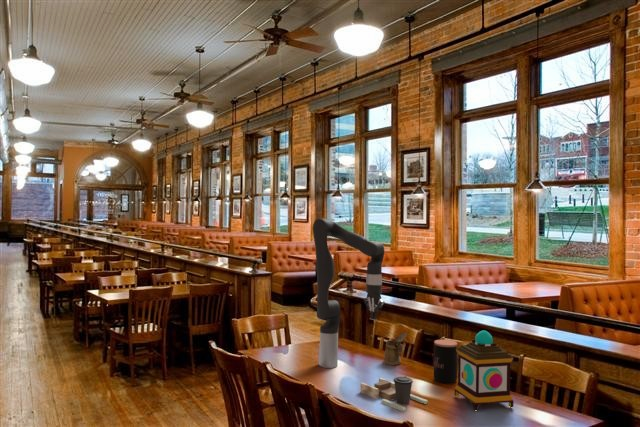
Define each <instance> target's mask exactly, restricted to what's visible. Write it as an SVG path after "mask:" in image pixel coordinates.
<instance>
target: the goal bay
mask: <svg viewBox="0 0 640 427" xmlns="http://www.w3.org/2000/svg"><path fill="white" fill-rule="evenodd" d="M410 400H413V401H416V402H419V403H421V404H423V403H424V404H423V405H427V403H429V401H428V399H425V398H423V397H420V396H417V395H414V394H412V393H411V394H410ZM381 403H382V404H384V405H386V406H389V407H391V408H392V409H393V408H394V409H396V410H399V411H401V412H402V413H403V412H407V407H406V406H403V405H402V404H398V403H397V402H396V403H395V402H393V401H392V400H390V401H389V400H387V399H384V398H382V399H381Z"/></svg>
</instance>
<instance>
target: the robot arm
mask: <svg viewBox="0 0 640 427" xmlns="http://www.w3.org/2000/svg"><path fill="white" fill-rule="evenodd" d="M312 236H313V240H314V247H315V248H314V249H315V263H316V264H315V268H316V269H315V270H316V278H317V279H316V282H317V286H316V287H317V289H316V290H317V293H316V294H317V295H316V311H317V312H316V313H317V316H318V318H319V319H321V320H323V321H324V320H326V321H325V322H324V323H323V324H322V325H320V328H319V345H318V365H319V366H320V367H321V368H325V369H333V368H337V367H338V358H339V356H338V355H339V350H338V349H339V348H338V347H339V328H340V326H341V324H340V322H341V307H340V306H341V305H340V303H339V301H338V300H335V299H329V290H330V287H331V285H332V283H333V280H334V278H335V261H334V258H333V255H332V253H331V251H330V248H329V245H328V237H332V238H336V239H338V240H340V241H342V242H343V243H344V244H345V245H346V246H349V247H351V248H353V249H355V250H358V251H359V252H360V253H362V254H363V255H365V256H368V257H371V258H370V260H369V262H367V266H366V280H365V281H366V282H365V284H366V286H365V287H366V288H365V292H366V297H364V298H363V303H364V304H365V306H366V308H367V310H369V311H370V316H369V317H370V319H371V320H377V316H378V315H377V314H378V311H381V309H382V308H383V307H384V305H385V303H386V302H385V301H383V300H382V295H381V294H383V293H382V292H383V278H382V276H383V275H382V271H383V270H382V265H383V261H384V257H385V246H384V245H383V243H382V242H380V241H369V240H368V238H366V236H363V235H361V234H358V233H356V232H353V231H352V230H349V229H346V228H344V227H342V226H340V225H339V224H338V223H337V222H335V221H333V220H332V219H330V218H321V217H320V218H316V219H315V220H314V222H313V224H312Z"/></svg>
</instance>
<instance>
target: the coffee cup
mask: <svg viewBox="0 0 640 427" xmlns="http://www.w3.org/2000/svg"><path fill="white" fill-rule="evenodd" d="M392 382H394V383H395V393H396V399H395V402H396V404H398V405H402V406H403V405H409V404H410V402H411V401H410V400H411V399H410V394H412V393H411V392H412V385H413V383H414V381H413V379H412V378H410V377H407V376H397V377H394V378H393V381H392Z"/></svg>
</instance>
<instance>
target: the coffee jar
mask: <svg viewBox="0 0 640 427" xmlns="http://www.w3.org/2000/svg"><path fill="white" fill-rule="evenodd" d="M433 342H434V347H433V379H434V381H436V382H437V383H440V384H445V385H446V384H447V385H451V384H455V383H456V381H458V353H457V351H456V348H458V342H457V341H455V340H451V339H436V340H434V341H433Z"/></svg>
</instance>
